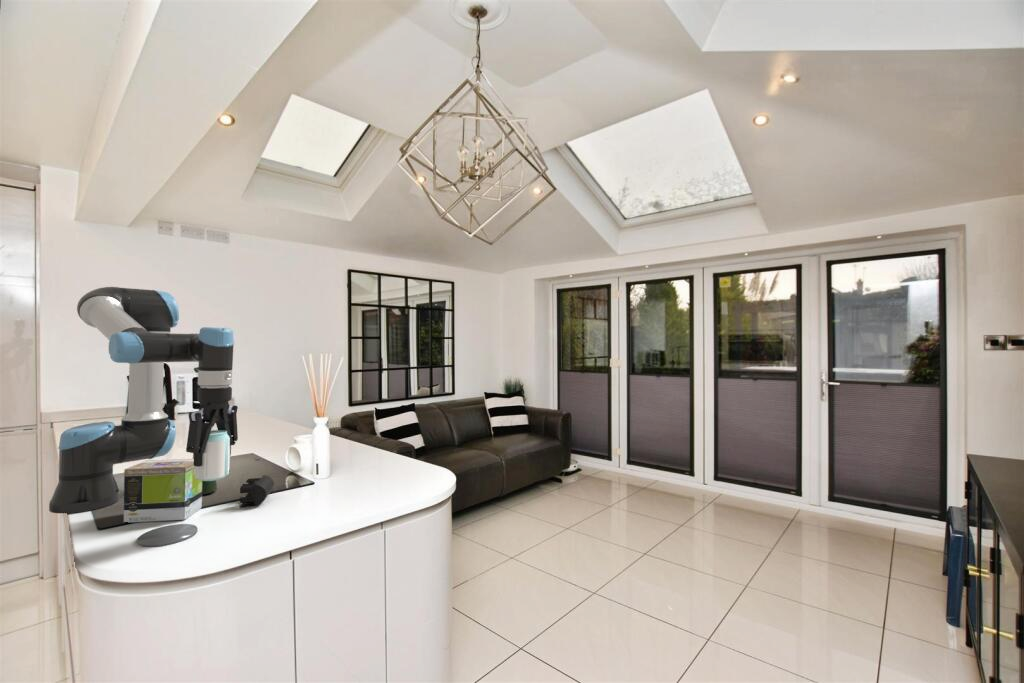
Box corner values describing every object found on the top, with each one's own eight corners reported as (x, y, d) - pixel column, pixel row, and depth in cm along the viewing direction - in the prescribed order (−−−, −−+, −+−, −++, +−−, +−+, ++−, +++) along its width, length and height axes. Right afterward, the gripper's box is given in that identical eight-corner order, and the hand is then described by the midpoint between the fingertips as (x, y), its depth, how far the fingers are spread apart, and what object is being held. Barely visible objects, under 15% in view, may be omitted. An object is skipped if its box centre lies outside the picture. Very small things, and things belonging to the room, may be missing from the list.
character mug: (227, 488, 150) (228, 449, 150) (221, 495, 143) (222, 454, 143) (189, 491, 146) (190, 451, 146) (181, 498, 139) (182, 456, 139)
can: (189, 481, 114) (190, 434, 114) (208, 473, 121) (210, 428, 121) (216, 482, 114) (218, 435, 114) (234, 474, 121) (235, 429, 121)
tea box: (202, 507, 132) (204, 457, 132) (184, 521, 122) (185, 467, 122) (145, 509, 130) (146, 458, 130) (121, 524, 120) (122, 468, 120)
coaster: (123, 544, 108) (123, 541, 108) (169, 524, 120) (169, 522, 120) (166, 549, 106) (167, 546, 106) (209, 528, 118) (209, 526, 118)
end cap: (265, 506, 134) (266, 484, 134) (239, 508, 132) (239, 485, 132) (273, 495, 144) (274, 474, 144) (248, 497, 142) (249, 475, 142)
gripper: (196, 391, 107) (193, 487, 107) (255, 383, 127) (252, 464, 127) (168, 389, 108) (165, 484, 109) (231, 382, 128) (228, 462, 128)
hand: (212, 473), depth 118 cm, fingers closed on can, 7 cm apart
